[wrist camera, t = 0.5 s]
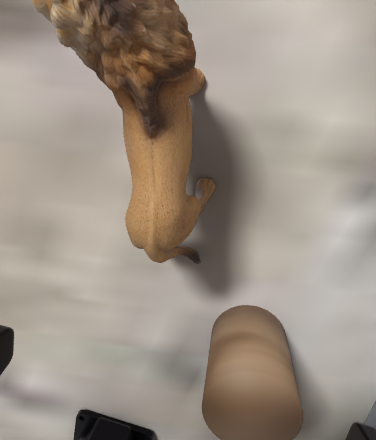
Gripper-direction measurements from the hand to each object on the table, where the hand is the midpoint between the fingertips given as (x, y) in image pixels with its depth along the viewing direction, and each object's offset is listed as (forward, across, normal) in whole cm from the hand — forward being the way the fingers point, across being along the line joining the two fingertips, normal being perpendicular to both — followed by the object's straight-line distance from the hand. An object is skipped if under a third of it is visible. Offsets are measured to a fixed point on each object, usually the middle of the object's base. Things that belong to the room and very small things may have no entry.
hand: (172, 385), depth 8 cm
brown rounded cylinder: (+12, -4, +6) cm, 15 cm away
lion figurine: (+12, +4, -6) cm, 14 cm away
